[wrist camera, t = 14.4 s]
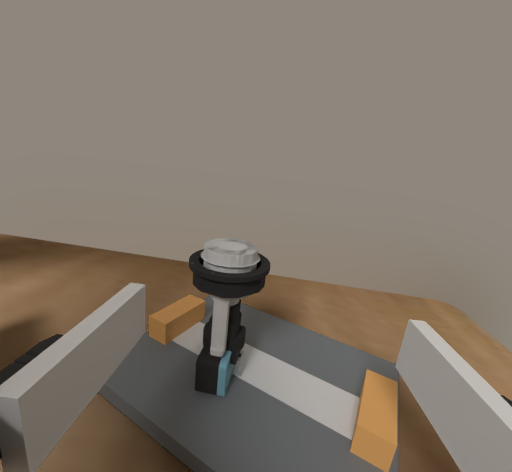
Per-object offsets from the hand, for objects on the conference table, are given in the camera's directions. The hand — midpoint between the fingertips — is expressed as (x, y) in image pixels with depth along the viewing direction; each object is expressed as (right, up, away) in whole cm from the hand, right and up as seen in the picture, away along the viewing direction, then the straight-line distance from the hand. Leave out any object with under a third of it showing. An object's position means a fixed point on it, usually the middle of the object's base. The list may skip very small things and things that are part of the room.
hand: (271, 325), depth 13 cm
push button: (-3, -6, +7) cm, 10 cm away
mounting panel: (-1, -7, +8) cm, 10 cm away
